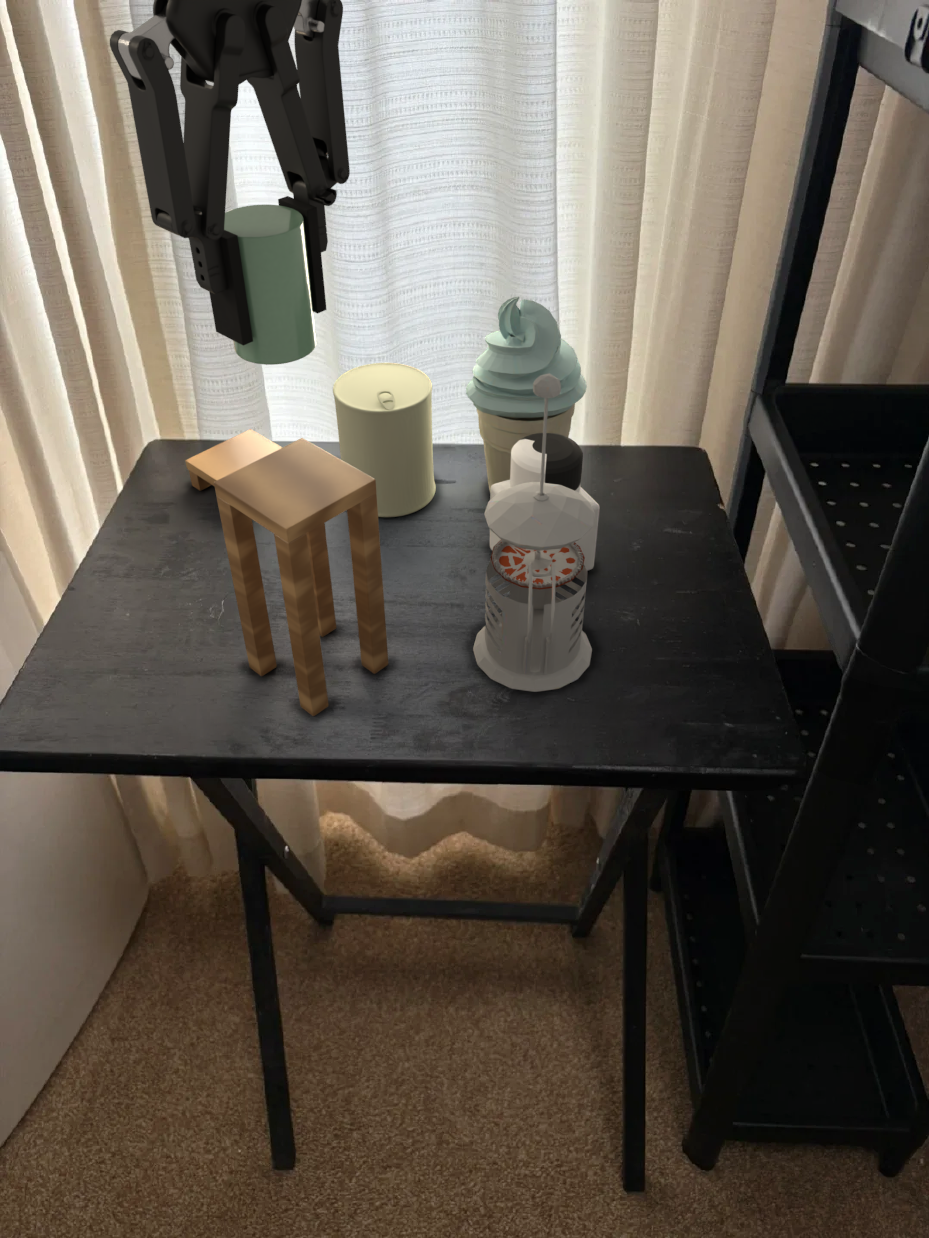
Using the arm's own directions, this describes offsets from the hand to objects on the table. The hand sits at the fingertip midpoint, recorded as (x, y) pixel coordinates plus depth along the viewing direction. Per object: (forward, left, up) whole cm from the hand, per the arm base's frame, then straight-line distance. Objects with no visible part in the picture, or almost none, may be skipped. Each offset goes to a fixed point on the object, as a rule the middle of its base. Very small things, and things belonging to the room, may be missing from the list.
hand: (272, 320), depth 66 cm
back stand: (+12, +24, -30) cm, 40 cm away
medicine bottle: (+23, -5, -30) cm, 38 cm away
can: (+21, +13, -30) cm, 39 cm away
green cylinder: (0, 0, -2) cm, 2 cm away
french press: (+12, -12, -30) cm, 35 cm away
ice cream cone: (+30, +4, -30) cm, 42 cm away
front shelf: (0, -1, -30) cm, 30 cm away
